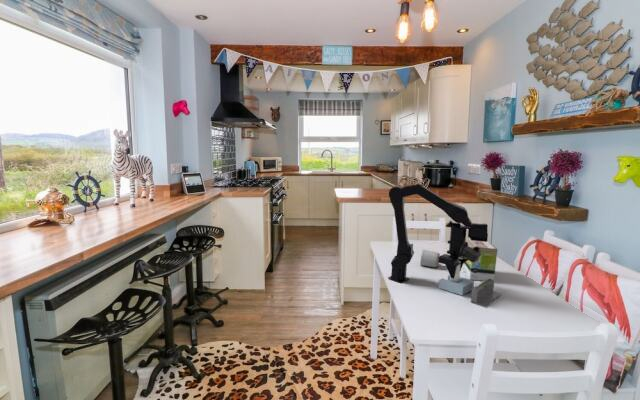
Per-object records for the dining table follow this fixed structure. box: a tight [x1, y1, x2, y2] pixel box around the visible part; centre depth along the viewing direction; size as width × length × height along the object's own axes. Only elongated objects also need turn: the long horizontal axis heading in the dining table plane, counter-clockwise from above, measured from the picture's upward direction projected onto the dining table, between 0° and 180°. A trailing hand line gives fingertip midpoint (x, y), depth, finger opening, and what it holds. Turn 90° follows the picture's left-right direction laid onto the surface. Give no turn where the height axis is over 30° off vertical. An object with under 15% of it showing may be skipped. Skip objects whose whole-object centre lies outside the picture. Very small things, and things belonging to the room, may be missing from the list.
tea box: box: [462, 238, 498, 282], centre depth 151 cm, size 15×10×15 cm, turn 168°
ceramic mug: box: [419, 249, 441, 268], centre depth 163 cm, size 11×8×8 cm
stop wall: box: [470, 279, 503, 308], centre depth 127 cm, size 16×5×5 cm, turn 134°
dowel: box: [450, 261, 461, 283], centre depth 136 cm, size 3×3×10 cm
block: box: [438, 274, 475, 296], centre depth 136 cm, size 10×10×3 cm
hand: (454, 276), depth 136 cm, fingers closed on dowel, 3 cm apart
